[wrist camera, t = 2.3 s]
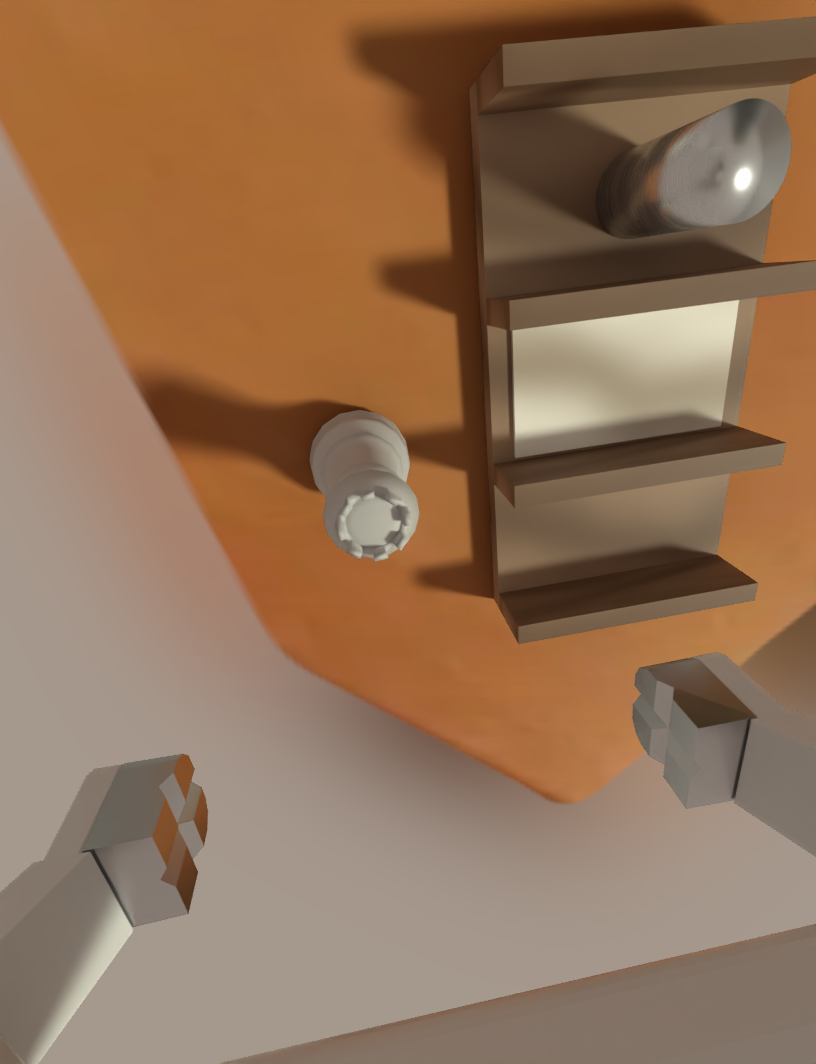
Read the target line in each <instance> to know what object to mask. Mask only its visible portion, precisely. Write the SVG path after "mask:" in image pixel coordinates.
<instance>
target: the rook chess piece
mask: <svg viewBox="0 0 816 1064" xmlns="http://www.w3.org/2000/svg"><path fill="white" fill-rule="evenodd" d="M310 464H311V469H312V473H313V477H314V481H315V485H316V486H317V487H318V488H319V490H320V491H321V492H322V494H323V495H324V496H325V497H326V503H325V508H324V514H323V519H324V523H325V527H326V531H327V534H328V535H329V537H330V538H331V539H332V540H333V541H334V543H335V544H336V545H337V546H338V548H340V549H342V550H344V551H346V552H347V553H348V554H350V555H352V556H354V557H356V558H358V559H359V560H360V558H361V557H365V558H374V562H375V561H379V560H384V559H388V555H390V554H391V553H393V552H394V551H396V550H397V549H400V550H402V548H403V547H404V546H405V544H406V543H407V542H408V540H409V538H410V537H411V536H412V534H413V533H414V532H415V529H416V525H417V521H418V517H419V509H418V504H417V498H416V496H415V494H414V493H413V491H412V490H411V488H410V487H409V486H408V484H407V483H406V480H407V476H408V472H409V467H410V461H409V455H408V449H407V445H406V440H405V439H404V437H403V436H402V434H401V433H400V431H399V430H398V428H397V427H396V425H395V424H394V423H392V422H391V421H389V420H388V419H386V418H385V417H383V416H382V415H380V414H378V413H373V412H368V411H363V410H356V411H351V412H346V413H341V414H338V415H337V416H336V417H334V418H333V419H331V420H330V421H328V422H327V423H325V424H324V425H323V426H322V427H321V429H320V430H319V432H318V434H317V435H316V437H315V438H314V440H313V441H312V448H311V454H310Z"/></svg>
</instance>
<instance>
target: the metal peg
mask: <svg viewBox="0 0 816 1064" xmlns="http://www.w3.org/2000/svg"><path fill="white" fill-rule="evenodd" d="M790 156H791V135H790V130H789V126H788V123H787V121H786V119H785V117H784V115H783V114H782V112H781V111H780V110H779V109H778V108H777V107H776V106H775V105H774V104H772V103H770V102H769V101H766V100H763V99H758V98H750V99H745V100H742V101H739V102H736V103H734V104H732V105H729V106H727V107H725V108H723V109H720V110H718V111H716V112H714V113H711V114H709V115H707V116H705V117H702V118H700V119H698V120H696V121H693V122H691V123H689V124H687V125H684V126H682V127H680V128H678V129H675V130H673V131H671V132H669V133H666V134H664V135H662V136H660V137H657V138H655V139H653V140H651V141H648V142H646V143H644V144H642V145H639V146H637V147H635V148H633V149H630V150H628V151H626V152H624V153H622V154H620V155H619V156H618V157H616V158H615V159H614V160H613V161H612V162H611V163H610V164H609V165H608V167H607V168H606V169H605V171H604V173H603V175H602V176H601V179H600V181H599V184H598V188H597V193H596V211H597V215H598V218H599V221H600V223H601V225H602V226H603V228H604V229H605V230H606V231H607V232H608V233H609V234H610V235H612V236H614V237H616V238H619V239H624V240H628V239H636V238H643V237H649V236H656V235H662V234H669V233H675V232H682V231H688V230H695V229H701V228H708V227H715V226H721V225H728V224H734V223H739V222H742V221H745V220H747V219H749V218H751V217H753V216H755V215H756V214H758V213H759V212H760V211H761V210H762V209H764V208H765V207H766V206H767V205H768V204H769V203H770V201H771V200H772V199H773V197H774V196H775V195H776V193H777V192H778V190H779V188H780V186H781V184H782V183H783V180H784V178H785V175H786V173H787V169H788V166H789V162H790Z"/></svg>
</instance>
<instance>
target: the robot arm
mask: <svg viewBox="0 0 816 1064" xmlns="http://www.w3.org/2000/svg"><path fill="white" fill-rule="evenodd" d="M635 687H636V688H637V689H638V691H639V692H640V693H641V695H640V696H639V697H638V698H637V700H636V701H635V702H634V703H633V716H632V719H633V723H634V727H635V731H636V734H637V736H638V739H639V741H640V743H641V745H642V746H643V748H644V749H645V751H646V752H647V754H648V755H649V756H650V757H652V758H653V759H655V760H657V761H659V762H661V763H662V764H664V776H663V777H664V778H665V780H666V781H667V782H668V784H669V785H670V787H671V788H672V789H673V791H674V792H675V794H676V795H677V797H678V798H679V799H680V801H681V802H682V804H683V805H684V806H685V808H686V809H688V808H694V807H699V806H705V805H710V804H715V803H722V802H727V801H732V800H735V802H734V803H735V804H737V805H738V806H740V807H741V808H743V809H744V810H746V811H747V812H749V813H750V814H752V815H753V816H755V817H756V818H758V819H759V820H761V821H762V822H764V823H766V824H767V825H768V826H770V827H771V828H773V829H774V830H776V831H778V832H779V833H781V834H782V835H784V836H785V837H787V838H788V839H790V840H791V841H793V842H794V843H796V844H797V845H799V846H800V847H802V848H803V849H805V850H806V851H808V852H809V853H811V854H812V855H814V856H815V857H816V718H815V717H812V716H810V715H807V714H805V713H802V712H800V711H792V712H788V711H787V710H786V709H785V708H784V707H783V706H782V705H781V704H779V703H778V702H777V701H776V700H775V699H774V698H773V697H772V696H770V695H769V694H768V693H767V692H766V691H765V690H764V689H763V688H761V687H760V686H759V685H758V684H757V683H756V682H755V681H754V680H753V679H751V678H750V677H749V676H748V675H747V674H746V673H745V672H744V671H743V670H741V669H740V668H739V667H738V666H737V665H736V664H735V663H734V662H732V661H731V660H730V659H729V658H728V657H727V656H726V655H724V654H721V653H719V652H715V653H710V654H705V655H700V656H695V657H691V658H687V659H682V660H677V661H671V662H666V663H661V664H656V665H651V666H646V667H641V668H639V669H638V671H637V673H636V675H635ZM193 773H194V767H193V765H192V762H191V760H190V758H189V756H188V755H185V754H179V755H173V756H167V757H160V758H154V759H148V760H142V761H136V762H131V763H125V764H123V765H116V766H111V767H104V768H97V769H94V770H93V771H92V772H90V773H89V774H88V775H87V776H86V778H85V779H84V781H83V784H82V785H81V788H80V790H79V791H78V794H77V795H76V798H75V799H74V801H73V803H72V805H71V807H70V809H69V811H68V813H67V815H66V817H65V819H64V821H63V823H62V825H61V827H60V829H59V831H58V833H57V835H56V837H55V839H54V840H53V843H52V844H51V846H50V849H49V851H48V852H47V854H46V856H45V859H44V860H43V861H39V862H34V863H33V864H31V865H30V866H29V867H28V868H27V869H26V870H25V871H24V872H23V873H21V874H20V875H19V876H18V877H17V878H16V879H15V880H14V881H13V882H11V883H10V884H9V885H8V886H7V887H6V888H5V889H4V890H2V891H1V892H0V1064H38V1063H39V1062H40V1060H41V1059H42V1057H43V1056H44V1055H45V1053H46V1052H47V1051H48V1049H49V1048H50V1046H51V1045H52V1044H53V1042H54V1041H55V1039H56V1038H57V1037H58V1035H59V1034H60V1033H61V1031H62V1030H63V1028H64V1027H65V1026H66V1024H67V1023H68V1021H69V1020H70V1018H71V1017H72V1016H73V1014H74V1013H75V1012H76V1010H77V1009H78V1007H79V1006H80V1005H81V1003H82V1002H83V1000H84V999H85V997H86V996H87V995H88V993H89V992H90V991H91V989H92V988H93V986H94V985H95V984H96V982H97V981H98V979H99V978H100V977H101V975H102V974H103V972H104V971H105V970H106V968H107V967H108V965H109V964H110V963H111V961H112V960H113V958H114V957H115V956H116V954H117V953H118V952H119V950H120V949H121V947H122V946H123V945H124V943H125V942H126V940H127V939H128V938H129V936H130V935H131V933H132V932H133V928H132V927H136V926H140V925H144V924H148V923H152V922H157V921H161V920H165V919H168V918H173V917H177V916H181V915H186V914H188V913H189V909H190V904H191V900H192V896H193V892H194V887H195V883H196V879H197V874H198V871H197V868H196V866H195V864H194V861H193V858H194V857H195V856H196V855H197V854H198V852H199V851H200V850H201V849H202V848H203V846H204V843H205V838H206V833H207V819H208V810H207V804H206V798H205V795H204V793H203V790H202V787H200V786H198V785H197V784H195V783H193V782H192V781H191V780H192V776H193ZM218 1064H816V924H814V925H810V926H805V927H801V928H797V929H792V930H788V931H784V932H779V933H775V934H771V935H767V936H763V937H758V938H754V939H750V940H745V941H741V942H737V943H732V944H728V945H724V946H719V947H715V948H711V949H707V950H702V951H698V952H694V953H689V954H685V955H681V956H677V957H672V958H668V959H664V960H659V961H655V962H651V963H646V964H642V965H638V966H633V967H629V968H625V969H621V970H616V971H612V972H608V973H603V974H599V975H595V976H591V977H586V978H582V979H578V980H573V981H569V982H565V983H561V984H556V985H552V986H548V987H543V988H539V989H535V990H531V991H526V992H522V993H517V994H513V995H509V996H505V997H500V998H496V999H492V1000H488V1001H484V1002H479V1003H475V1004H471V1005H466V1006H462V1007H458V1008H453V1009H449V1010H445V1011H441V1012H437V1013H432V1014H428V1015H424V1016H419V1017H415V1018H411V1019H407V1020H402V1021H398V1022H394V1023H389V1024H385V1025H381V1026H377V1027H372V1028H368V1029H364V1030H360V1031H355V1032H352V1033H347V1034H342V1035H338V1036H334V1037H330V1038H325V1039H321V1040H317V1041H313V1042H308V1043H304V1044H300V1045H295V1046H291V1047H287V1048H283V1049H279V1050H274V1051H270V1052H265V1053H261V1054H257V1055H253V1056H248V1057H244V1058H240V1059H235V1060H231V1061H227V1062H223V1063H218Z"/></svg>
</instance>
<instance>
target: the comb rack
mask: <svg viewBox="0 0 816 1064" xmlns="http://www.w3.org/2000/svg"><path fill="white" fill-rule="evenodd" d="M815 73H816V17H805V18H794V19H783V20H772V21H761V22H749V23H738V24H727V25H716V26H704V27H693V28H682V29H671V30H659V31H648V32H637V33H626V34H614V35H603V36H592V37H581V38H569V39H558V40H547V41H536V42H524V43H513V44H502V46H501V47H500V48H499V50H498V51H497V53H496V54H495V55H494V57H493V58H492V59H491V61H490V62H489V63H488V65H487V66H486V67H485V69H484V70H483V71H482V73H481V74H480V75H479V77H478V78H477V79H476V81H475V82H474V83H473V85H472V86H471V88H470V89H469V96H470V117H471V137H472V157H473V177H474V198H475V218H476V238H477V258H478V279H479V299H480V319H481V340H482V360H483V380H484V400H485V421H486V441H487V461H488V481H489V502H490V522H491V542H492V563H493V583H494V600H495V602H496V603H497V605H498V607H499V609H500V611H501V613H502V614H503V616H504V618H505V620H506V622H507V624H508V625H509V627H510V629H511V631H512V633H513V634H514V636H515V638H516V640H517V642H518V644H522V643H527V642H532V641H538V640H543V639H549V638H554V637H559V636H565V635H570V634H576V633H581V632H587V631H592V630H597V629H603V628H608V627H614V626H619V625H624V624H630V623H635V622H641V621H646V620H651V619H657V618H662V617H668V616H673V615H678V614H684V613H689V612H695V611H700V610H705V609H711V608H716V607H722V606H727V605H733V604H738V603H743V602H749V601H754V600H755V597H756V592H757V587H758V583H757V582H756V581H755V580H753V579H752V578H750V577H749V576H747V575H746V574H744V573H743V572H741V571H740V570H738V569H737V568H735V567H734V566H733V565H731V564H730V563H728V562H727V561H725V560H724V559H722V558H721V557H719V556H718V555H717V552H718V545H719V539H720V533H721V526H722V520H723V514H724V507H725V501H726V495H727V488H728V482H729V475H730V473H736V472H742V471H749V470H755V469H761V468H767V467H773V466H779V465H782V462H783V457H784V452H785V447H786V443H785V442H782V441H779V440H776V439H773V438H770V437H768V436H765V435H762V434H759V433H756V432H753V431H750V430H747V429H744V428H741V427H738V426H737V425H738V418H739V412H740V405H741V399H742V393H743V386H744V380H745V374H746V367H747V361H748V355H749V348H750V342H751V335H752V329H753V323H754V316H755V310H756V304H757V297H765V296H772V295H779V294H787V293H794V292H802V291H809V290H816V260H813V261H794V262H775V263H763V259H764V253H765V246H766V240H767V234H768V227H769V221H770V215H771V208H772V202H773V199H772V200H771V201H770V203H769V204H768V205H767V206H766V207H765V208H764V209H762V210H761V211H760V212H759V213H758V214H756V215H755V216H753V217H751V218H749V219H747V220H745V221H742V222H739V223H734V224H728V225H721V226H715V227H708V228H701V229H695V230H688V231H682V232H675V233H669V234H662V235H656V236H649V237H643V238H636V239H628V240H624V239H619V238H616V237H614V236H612V235H610V234H609V233H608V232H607V231H606V230H605V229H604V228H603V226H602V225H601V223H600V221H599V218H598V215H597V211H596V193H597V188H598V184H599V181H600V179H601V176H602V175H603V173H604V171H605V169H606V168H607V167H608V165H609V164H610V163H611V162H612V161H613V160H614V159H615V158H616V157H618V156H619V155H620V154H622V153H624V152H626V151H628V150H630V149H633V148H635V147H637V146H639V145H642V144H644V143H646V142H648V141H651V140H653V139H655V138H657V137H660V136H662V135H664V134H666V133H669V132H671V131H673V130H675V129H678V128H680V127H682V126H684V125H687V124H689V123H691V122H693V121H696V120H698V119H700V118H702V117H705V116H707V115H709V114H711V113H714V112H716V111H718V110H720V109H723V108H725V107H727V106H729V105H732V104H734V103H736V102H739V101H742V100H745V99H750V98H758V99H763V100H766V101H769V102H770V103H772V104H774V105H775V106H776V107H777V108H778V109H779V110H780V111H781V112H782V114H783V115H784V117H785V119H786V113H787V106H788V100H789V94H790V87H791V84H792V83H795V82H797V81H799V80H802V79H804V78H806V77H809V76H811V75H813V74H815Z"/></svg>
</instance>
